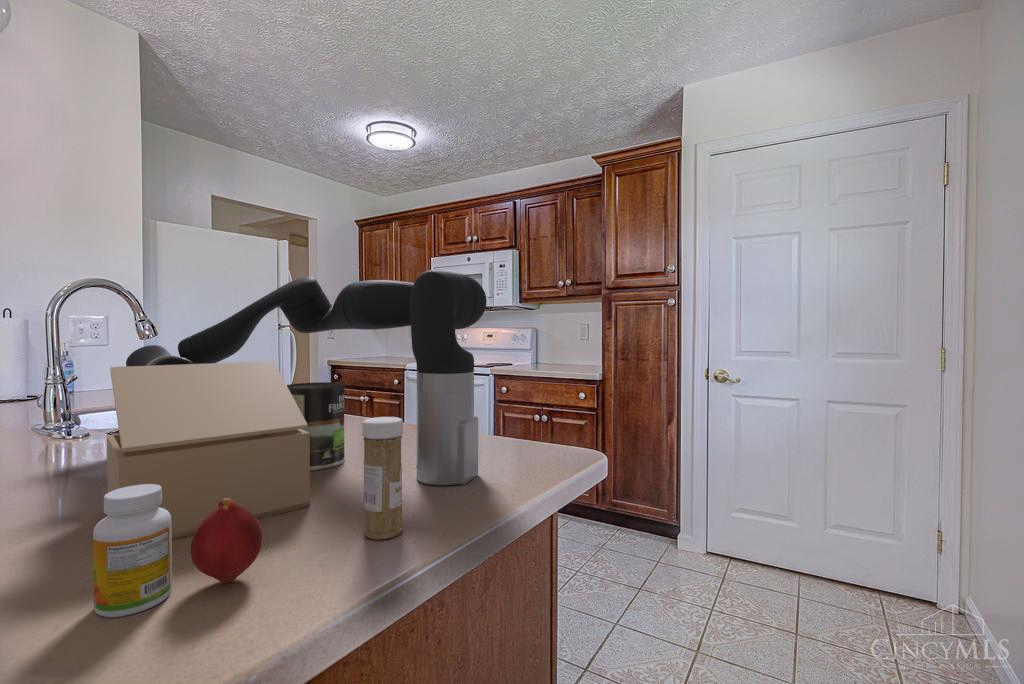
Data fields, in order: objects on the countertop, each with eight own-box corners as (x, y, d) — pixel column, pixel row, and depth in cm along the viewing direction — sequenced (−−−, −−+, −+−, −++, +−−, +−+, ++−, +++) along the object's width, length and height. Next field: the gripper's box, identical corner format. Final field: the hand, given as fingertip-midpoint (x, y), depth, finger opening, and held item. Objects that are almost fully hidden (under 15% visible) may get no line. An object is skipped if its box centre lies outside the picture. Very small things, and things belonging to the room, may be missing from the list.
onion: (212, 567, 48) (212, 488, 48) (272, 565, 49) (272, 486, 49) (177, 599, 42) (176, 509, 42) (245, 597, 43) (245, 507, 43)
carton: (107, 511, 63) (106, 435, 63) (271, 479, 77) (271, 417, 77) (119, 552, 51) (118, 459, 51) (309, 506, 65) (309, 432, 65)
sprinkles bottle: (408, 535, 56) (408, 420, 56) (369, 544, 54) (369, 424, 53) (395, 522, 60) (394, 414, 60) (357, 530, 57) (357, 417, 57)
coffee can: (353, 455, 92) (353, 382, 92) (332, 471, 82) (332, 388, 81) (299, 455, 92) (299, 381, 92) (271, 471, 82) (271, 388, 81)
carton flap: (110, 371, 61) (110, 367, 61) (273, 364, 75) (273, 361, 74) (122, 452, 52) (122, 448, 51) (306, 428, 65) (307, 424, 65)
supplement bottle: (106, 592, 44) (105, 485, 43) (178, 580, 46) (177, 478, 46) (83, 625, 39) (81, 505, 38) (164, 610, 41) (163, 496, 41)
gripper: (121, 356, 81) (134, 361, 68) (213, 354, 90) (238, 358, 77) (122, 401, 81) (135, 414, 68) (213, 394, 90) (239, 405, 77)
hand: (190, 384), depth 73 cm, fingers closed
